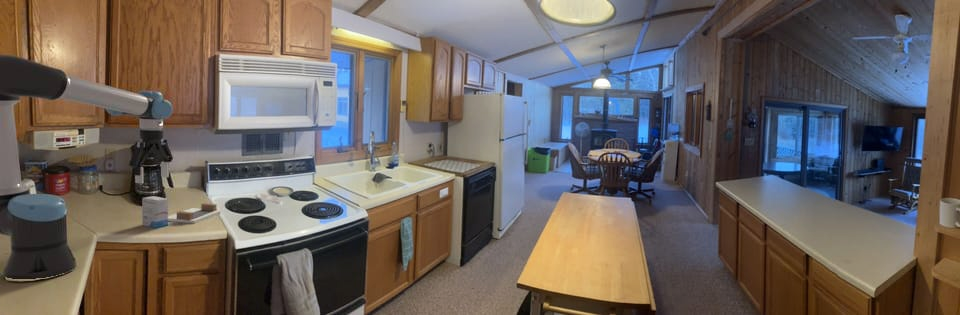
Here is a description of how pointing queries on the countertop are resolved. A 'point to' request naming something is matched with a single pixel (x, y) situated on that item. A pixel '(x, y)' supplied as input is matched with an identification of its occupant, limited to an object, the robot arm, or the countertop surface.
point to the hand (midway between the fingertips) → (152, 179)
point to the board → (195, 214)
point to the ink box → (154, 211)
